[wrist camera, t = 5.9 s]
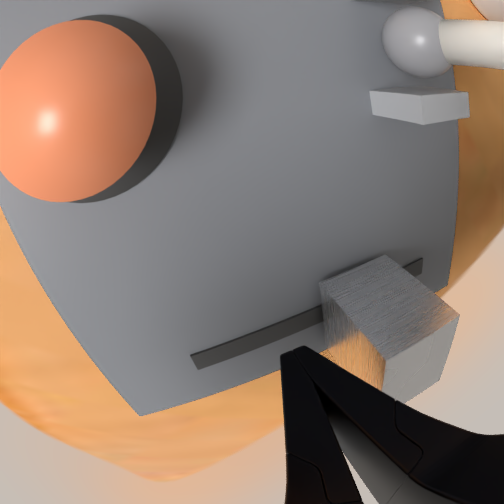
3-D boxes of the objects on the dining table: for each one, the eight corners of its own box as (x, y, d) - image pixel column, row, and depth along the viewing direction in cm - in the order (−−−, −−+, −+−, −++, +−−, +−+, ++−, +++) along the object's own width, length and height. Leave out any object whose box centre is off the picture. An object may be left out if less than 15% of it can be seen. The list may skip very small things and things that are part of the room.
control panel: (385, -52, 7) (460, -75, 3) (420, 264, 14) (477, 309, 11) (-17, 25, 5) (-88, 3, 1) (137, 378, 12) (144, 460, 9)
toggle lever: (396, 14, 7) (582, 26, 2) (408, 75, 8) (590, 104, 3) (360, 6, 6) (589, 14, 1) (374, 79, 7) (600, 113, 2)
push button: (135, 16, 5) (132, -7, 4) (173, 149, 7) (178, 162, 5) (3, 76, 4) (-31, 74, 3) (44, 201, 6) (21, 228, 5)
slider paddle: (385, 254, 10) (459, 314, 7) (383, 319, 11) (439, 380, 8) (319, 282, 9) (385, 361, 7) (326, 347, 11) (376, 419, 8)
